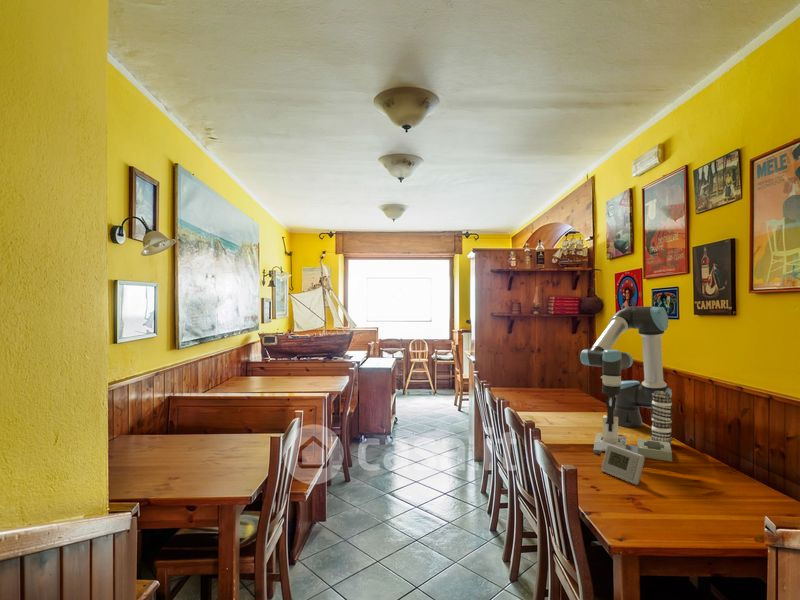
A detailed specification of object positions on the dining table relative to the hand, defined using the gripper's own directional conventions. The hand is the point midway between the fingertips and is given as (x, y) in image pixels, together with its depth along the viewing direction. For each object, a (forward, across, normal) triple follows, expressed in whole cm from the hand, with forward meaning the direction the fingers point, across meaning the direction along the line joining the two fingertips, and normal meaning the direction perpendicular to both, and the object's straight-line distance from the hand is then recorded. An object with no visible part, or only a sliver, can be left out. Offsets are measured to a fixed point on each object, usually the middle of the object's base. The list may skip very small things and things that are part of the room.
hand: (610, 436), depth 206 cm
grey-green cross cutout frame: (+4, 0, +17) cm, 18 cm away
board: (+6, 0, +8) cm, 10 cm away
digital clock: (+6, +32, +6) cm, 34 cm away
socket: (+4, 0, 0) cm, 4 cm away
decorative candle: (+6, -19, +21) cm, 29 cm away
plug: (+3, 0, 0) cm, 3 cm away
